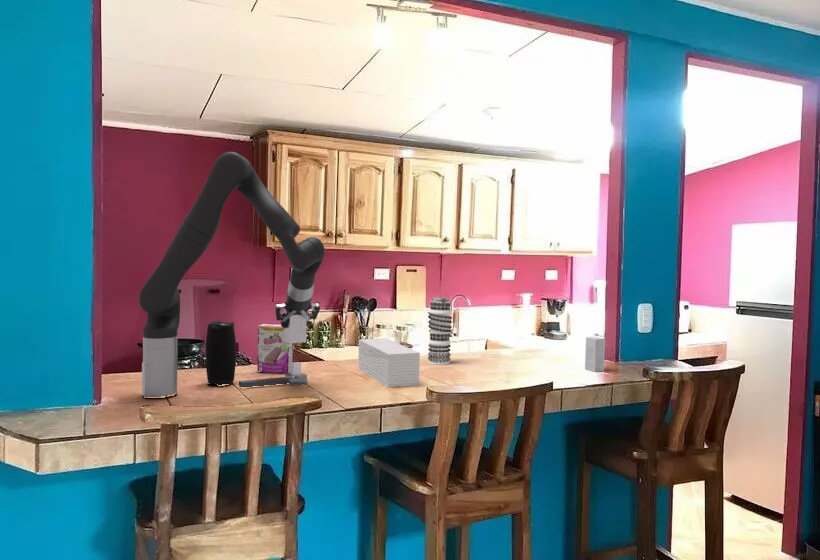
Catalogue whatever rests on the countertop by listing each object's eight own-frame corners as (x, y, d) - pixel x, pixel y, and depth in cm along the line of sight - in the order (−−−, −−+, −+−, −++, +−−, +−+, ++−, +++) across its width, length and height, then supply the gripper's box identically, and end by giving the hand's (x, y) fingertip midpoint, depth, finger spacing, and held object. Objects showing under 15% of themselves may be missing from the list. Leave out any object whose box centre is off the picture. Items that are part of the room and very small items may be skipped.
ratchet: (243, 390, 192) (243, 369, 192) (237, 386, 198) (237, 365, 198) (310, 384, 203) (310, 363, 202) (302, 379, 209) (303, 360, 208)
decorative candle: (423, 360, 246) (425, 296, 245) (446, 360, 249) (447, 296, 248) (431, 365, 238) (432, 298, 236) (454, 364, 240) (456, 298, 239)
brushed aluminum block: (289, 343, 198) (289, 308, 197) (284, 340, 203) (284, 306, 202) (306, 342, 200) (306, 307, 200) (300, 339, 205) (300, 305, 205)
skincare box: (604, 371, 232) (605, 338, 232) (594, 372, 231) (595, 339, 230) (593, 368, 238) (594, 336, 237) (584, 368, 236) (585, 336, 236)
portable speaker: (240, 382, 203) (241, 321, 202) (223, 388, 194) (223, 324, 193) (217, 379, 206) (218, 319, 205) (199, 385, 197) (200, 323, 196)
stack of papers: (358, 369, 230) (358, 339, 229) (386, 367, 234) (386, 338, 233) (387, 388, 200) (388, 354, 199) (419, 385, 204) (419, 352, 203)
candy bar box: (256, 373, 218) (257, 325, 217) (261, 370, 223) (262, 323, 222) (288, 374, 217) (289, 326, 216) (292, 371, 222) (293, 324, 221)
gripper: (322, 281, 196) (315, 316, 208) (275, 282, 191) (270, 317, 203) (325, 300, 191) (318, 334, 203) (277, 301, 186) (272, 335, 198)
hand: (294, 325), depth 203 cm, fingers closed on brushed aluminum block, 6 cm apart
